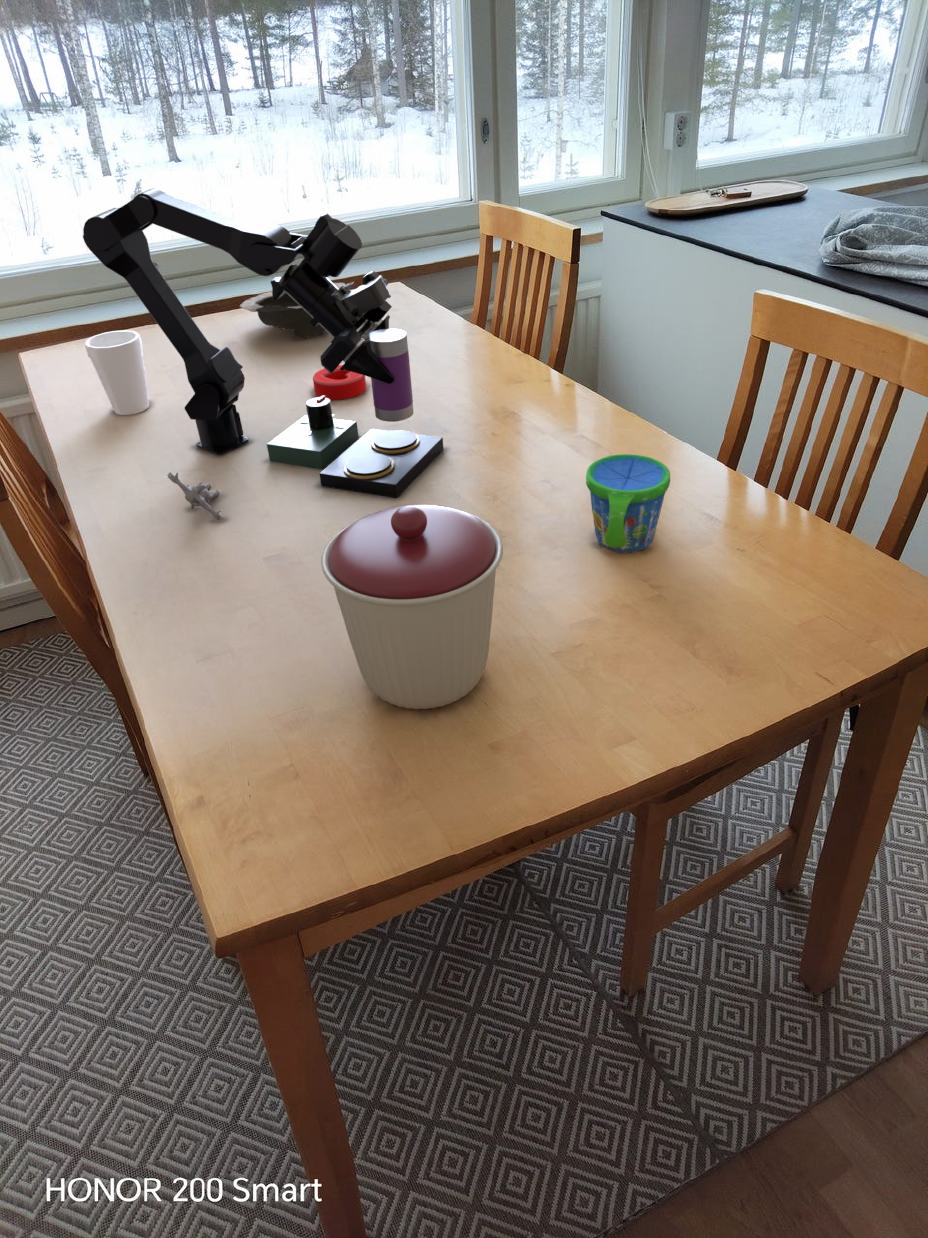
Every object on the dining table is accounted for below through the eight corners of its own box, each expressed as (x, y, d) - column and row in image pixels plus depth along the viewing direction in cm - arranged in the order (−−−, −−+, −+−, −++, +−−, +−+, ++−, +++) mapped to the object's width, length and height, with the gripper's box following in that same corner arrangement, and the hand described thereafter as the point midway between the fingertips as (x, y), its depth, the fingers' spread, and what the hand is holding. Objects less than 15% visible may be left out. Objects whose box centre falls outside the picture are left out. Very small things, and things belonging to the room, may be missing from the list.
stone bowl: (339, 344, 190) (329, 299, 185) (230, 351, 196) (218, 309, 191) (371, 305, 209) (363, 264, 204) (272, 313, 215) (261, 273, 210)
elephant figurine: (249, 498, 137) (227, 507, 128) (226, 527, 139) (203, 538, 130) (197, 454, 136) (172, 459, 128) (175, 483, 138) (148, 491, 129)
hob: (321, 486, 139) (318, 469, 137) (372, 440, 151) (370, 424, 149) (397, 498, 134) (395, 480, 132) (443, 449, 147) (442, 433, 145)
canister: (501, 624, 107) (495, 461, 95) (513, 728, 92) (507, 551, 80) (349, 634, 107) (323, 473, 95) (337, 739, 93) (304, 565, 80)
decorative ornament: (309, 386, 173) (307, 370, 171) (358, 376, 175) (356, 360, 173) (322, 403, 165) (319, 387, 164) (372, 393, 168) (370, 376, 166)
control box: (269, 461, 147) (266, 443, 145) (311, 428, 157) (308, 411, 155) (323, 468, 144) (320, 450, 142) (362, 435, 153) (359, 417, 151)
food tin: (388, 425, 139) (379, 345, 132) (368, 413, 143) (358, 334, 136) (421, 414, 142) (414, 335, 135) (400, 402, 146) (393, 325, 139)
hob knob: (326, 430, 148) (322, 405, 145) (304, 428, 149) (300, 403, 147) (338, 421, 151) (334, 396, 148) (317, 418, 152) (313, 394, 150)
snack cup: (647, 578, 113) (653, 506, 107) (567, 563, 117) (568, 493, 111) (677, 519, 125) (684, 451, 119) (603, 507, 128) (606, 440, 122)
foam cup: (165, 397, 172) (147, 329, 165) (146, 417, 165) (127, 347, 157) (117, 398, 173) (97, 330, 166) (97, 418, 166) (75, 348, 158)
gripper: (330, 277, 122) (415, 360, 127) (372, 242, 137) (447, 317, 141) (285, 334, 129) (367, 411, 133) (330, 294, 143) (403, 365, 147)
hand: (398, 373), depth 138 cm, fingers closed on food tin, 6 cm apart
